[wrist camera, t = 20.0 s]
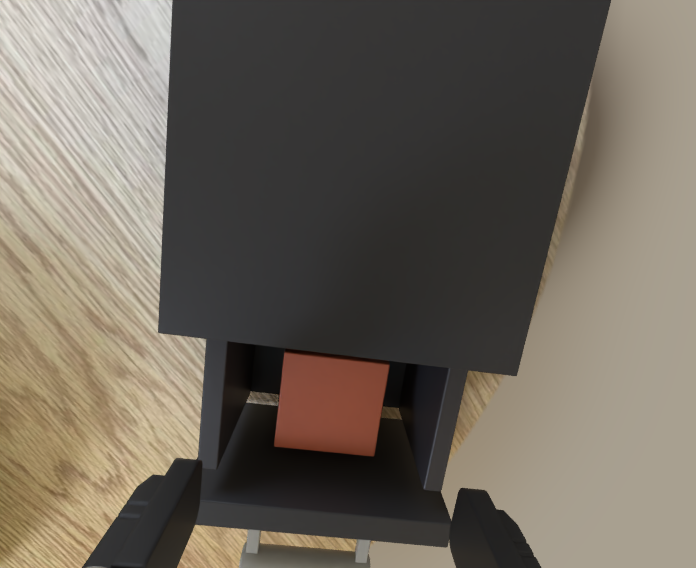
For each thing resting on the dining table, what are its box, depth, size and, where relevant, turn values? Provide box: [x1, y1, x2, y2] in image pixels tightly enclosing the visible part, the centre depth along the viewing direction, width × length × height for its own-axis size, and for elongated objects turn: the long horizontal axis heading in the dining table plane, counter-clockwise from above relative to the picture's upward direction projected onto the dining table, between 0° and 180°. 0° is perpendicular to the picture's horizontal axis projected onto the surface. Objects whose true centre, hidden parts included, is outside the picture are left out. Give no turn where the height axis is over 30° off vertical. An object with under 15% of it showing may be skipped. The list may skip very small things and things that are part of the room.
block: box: [274, 348, 390, 457], centre depth 20 cm, size 5×5×5 cm
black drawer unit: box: [158, 0, 611, 376], centre depth 17 cm, size 15×13×10 cm
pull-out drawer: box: [195, 339, 468, 568], centre depth 19 cm, size 19×11×8 cm, turn 172°
